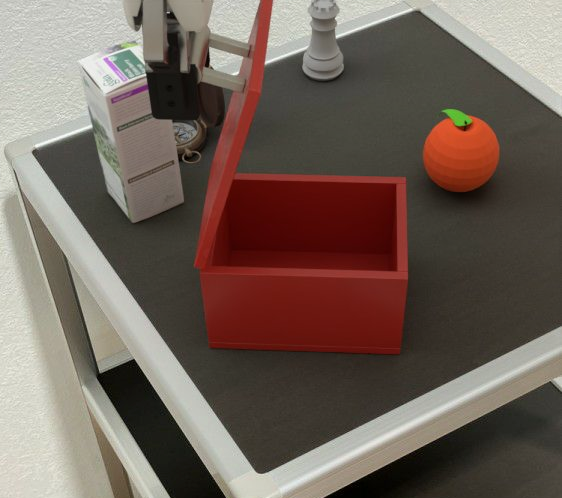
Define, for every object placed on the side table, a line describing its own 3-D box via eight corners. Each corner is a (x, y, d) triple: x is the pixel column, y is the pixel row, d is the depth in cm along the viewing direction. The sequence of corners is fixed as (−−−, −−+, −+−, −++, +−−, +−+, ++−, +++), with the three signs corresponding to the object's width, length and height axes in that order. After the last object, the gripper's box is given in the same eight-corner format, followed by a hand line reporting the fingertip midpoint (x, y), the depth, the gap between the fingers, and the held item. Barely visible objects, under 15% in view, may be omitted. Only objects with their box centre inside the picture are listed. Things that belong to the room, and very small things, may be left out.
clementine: (400, 166, 93) (406, 104, 88) (462, 145, 95) (471, 83, 89) (444, 216, 89) (452, 154, 83) (508, 193, 90) (520, 131, 85)
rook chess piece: (315, 87, 102) (315, 18, 95) (294, 66, 104) (293, -3, 98) (351, 74, 103) (354, 5, 97) (330, 54, 105) (331, -15, 99)
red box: (398, 254, 86) (406, 176, 79) (399, 355, 79) (408, 279, 72) (223, 249, 87) (216, 172, 80) (209, 348, 79) (199, 272, 73)
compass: (135, 135, 97) (124, 72, 92) (206, 111, 99) (200, 48, 94) (166, 180, 93) (156, 117, 87) (240, 154, 95) (235, 91, 89)
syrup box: (186, 202, 91) (169, 68, 79) (130, 226, 89) (104, 92, 78) (158, 170, 94) (137, 35, 83) (103, 192, 92) (74, 58, 81)
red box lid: (274, -7, 67) (198, -30, 66) (261, 93, 60) (175, 68, 59) (220, 169, 80) (156, 152, 79) (204, 269, 72) (133, 252, 71)
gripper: (198, -120, 47) (223, 173, 61) (233, -252, 58) (247, 24, 72) (47, -122, 48) (106, 169, 62) (109, -252, 58) (147, 22, 72)
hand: (182, 89), depth 67 cm, fingers closed on red box lid, 5 cm apart
